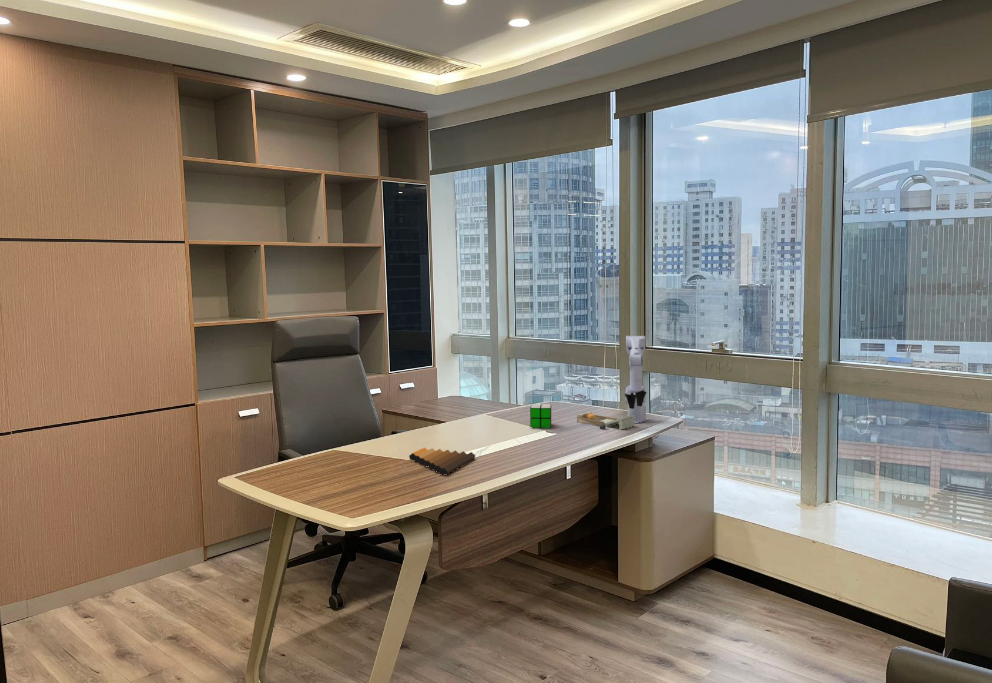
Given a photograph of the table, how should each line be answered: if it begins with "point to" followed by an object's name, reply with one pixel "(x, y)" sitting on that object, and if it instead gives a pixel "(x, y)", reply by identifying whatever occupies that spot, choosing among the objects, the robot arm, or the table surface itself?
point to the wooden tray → (598, 421)
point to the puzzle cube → (540, 415)
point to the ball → (591, 416)
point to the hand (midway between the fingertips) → (635, 407)
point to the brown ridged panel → (441, 459)
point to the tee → (602, 426)
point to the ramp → (620, 422)
